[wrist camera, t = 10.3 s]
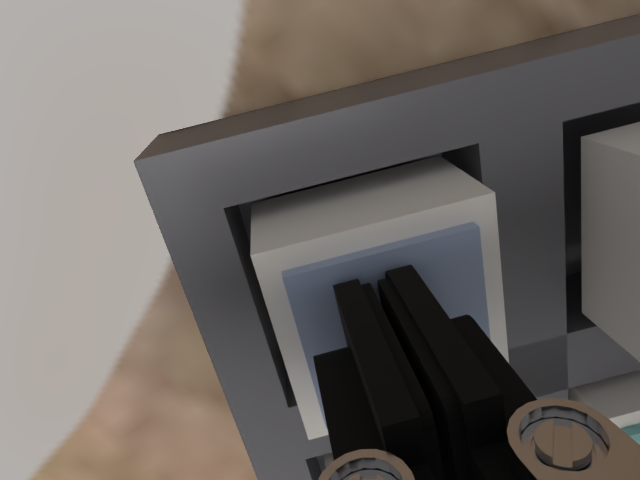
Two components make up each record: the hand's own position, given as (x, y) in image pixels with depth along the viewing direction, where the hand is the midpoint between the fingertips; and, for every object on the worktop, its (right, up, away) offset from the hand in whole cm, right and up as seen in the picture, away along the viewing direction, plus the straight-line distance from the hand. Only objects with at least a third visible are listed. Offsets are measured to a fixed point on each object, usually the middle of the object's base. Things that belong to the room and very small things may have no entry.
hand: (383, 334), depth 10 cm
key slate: (0, +1, +3) cm, 4 cm away
